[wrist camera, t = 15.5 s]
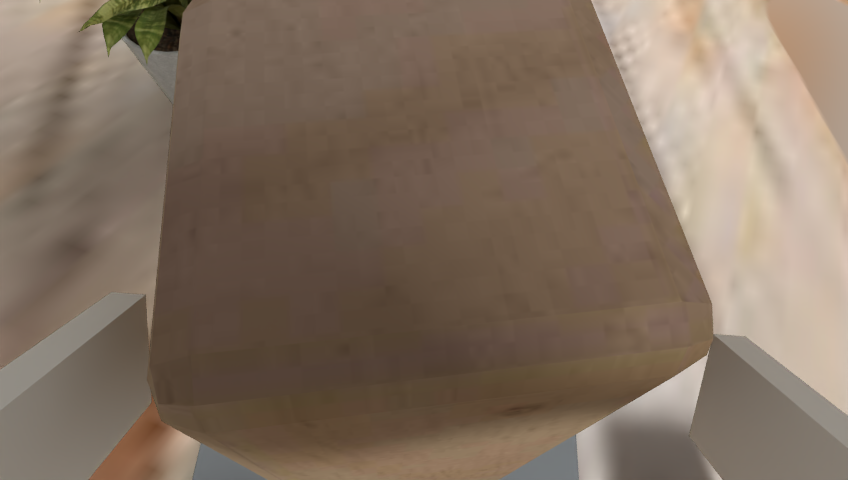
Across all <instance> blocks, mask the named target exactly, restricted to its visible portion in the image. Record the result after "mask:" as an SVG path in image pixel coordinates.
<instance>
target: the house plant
mask: <svg viewBox="0 0 848 480" xmlns="http://www.w3.org/2000/svg"><path fill="white" fill-rule="evenodd" d="M191 1H192V0H110V1H108V2H107V3H105V4H104V5H102V7H101V8H100V9H99V10H98V11H97V12H96V13H95V14H94V15H93V16H92V17H91V18H90V19H89V20H88V21H87V22H86V23H85V24H84V25H83V27H82V28H81V30H80V31H82V30H84V29H85V28H87V27H89V26H90V25H94V24H99V23H102V28H103V33H104V38H105V42H106V46H107V52H108V57H109V53H110V49H111V47H112V46H113V45H115V44H116V43H117V42H118V41H119V40H120V39H121V38H122V39H123V41H124V42H125V43H126V44H127V46H128V47H129V48H130V50H131V51H132V52H133V53H134V55H135V56H136V57H137V59H138V60H139V61H140V62H141V64H142V65H143V66H144V68H145V69H146V70H147V71H148V73H149V74H150V75H151V77H152V78H153V79H154V80H155V82H156V83H157V84H158V86H159V87H160V88H161V90H162V91H163V92H164V93H165V95H166V96H167V97H168V99H169V100H170V101H171V102H172V104H173V101H174V91H175V81H176V70H177V60H178V49H179V39H180V31H181V24H182V16H183V12H184V11H185V9H186V8H187V6H188V5H189V4H190V2H191ZM80 31H79V32H80Z"/></svg>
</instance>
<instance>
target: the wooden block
mask: <svg viewBox="0 0 848 480" xmlns="http://www.w3.org/2000/svg"><path fill="white" fill-rule="evenodd" d="M712 341H713V317H712V303H711V300H710V298H709V295H708V293H707V290H706V288H705V285H704V283H703V280H702V278H701V275H700V273H699V270H698V268H697V265H696V263H695V260H694V258H693V255H692V253H691V250H690V248H689V245H688V243H687V240H686V238H685V235H684V232H683V230H682V227H681V225H680V222H679V220H678V217H677V215H676V212H675V210H674V207H673V205H672V202H671V200H670V197H669V195H668V192H667V190H666V187H665V185H664V182H663V180H662V177H661V175H660V172H659V170H658V167H657V165H656V162H655V160H654V157H653V155H652V152H651V150H650V147H649V145H648V142H647V140H646V137H645V135H644V132H643V130H642V127H641V125H640V122H639V120H638V117H637V115H636V112H635V110H634V107H633V105H632V102H631V100H630V97H629V95H628V92H627V89H626V87H625V84H624V82H623V79H622V77H621V74H620V72H619V69H618V67H617V64H616V62H615V59H614V57H613V54H612V52H611V49H610V47H609V44H608V42H607V39H606V37H605V34H604V32H603V29H602V27H601V24H600V22H599V19H598V17H597V14H596V12H595V9H594V7H593V4H592V2H591V0H192V1H191V2H190V4H189V5H188V6H187V8H186V9H185V11H184V12H183V16H182V24H181V31H180V39H179V49H178V60H177V70H176V81H175V91H174V101H173V112H172V122H171V133H170V143H169V154H168V164H167V174H166V185H165V195H164V206H163V216H162V226H161V237H160V247H159V258H158V268H157V278H156V289H155V299H154V310H153V320H152V330H151V341H150V351H149V362H148V372H147V382H148V385H149V387H150V390H151V393H152V396H153V398H154V401H155V404H156V407H157V410H158V412H159V415H160V418H161V421H162V422H164V423H166V424H168V425H170V426H172V427H173V428H175V429H177V430H179V431H181V432H182V433H184V434H186V435H188V436H190V437H191V438H193V439H195V440H197V441H199V442H200V443H202V444H204V445H206V446H208V447H209V448H211V449H213V450H215V451H217V452H218V453H220V454H222V455H224V456H226V457H227V458H229V459H231V460H233V461H235V462H237V463H238V464H240V465H242V466H244V467H246V468H247V469H249V470H251V471H253V472H255V473H256V474H258V475H260V476H262V477H264V478H265V479H267V480H499V479H501V478H503V477H504V476H506V475H508V474H510V473H511V472H513V471H515V470H516V469H518V468H520V467H521V466H523V465H525V464H526V463H528V462H530V461H532V460H533V459H535V458H537V457H538V456H540V455H542V454H543V453H545V452H547V451H548V450H550V449H552V448H554V447H555V446H557V445H559V444H560V443H562V442H564V441H565V440H567V439H569V438H570V437H572V436H574V435H576V434H577V433H579V432H581V431H582V430H584V429H586V428H587V427H589V426H591V425H592V424H594V423H596V422H598V421H599V420H601V419H603V418H604V417H606V416H608V415H609V414H611V413H613V412H614V411H616V410H618V409H620V408H621V407H623V406H625V405H626V404H628V403H630V402H631V401H633V400H635V399H636V398H638V397H640V396H642V395H643V394H645V393H647V392H648V391H650V390H652V389H653V388H655V387H657V386H658V385H660V384H662V383H664V382H665V381H667V380H669V379H670V378H672V377H674V376H675V375H677V374H678V373H680V372H681V371H683V370H684V369H686V368H688V367H689V366H691V365H692V364H694V363H695V362H697V361H698V360H700V359H701V358H703V357H704V356H706V355H707V353H708V350H709V348H710V346H711V343H712Z"/></svg>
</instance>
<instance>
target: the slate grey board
mask: <svg viewBox="0 0 848 480" xmlns="http://www.w3.org/2000/svg"><path fill="white" fill-rule="evenodd" d="M192 480H267V479H265V478H264V477H262V476H260V475H258V474H256V473H255V472H253V471H251V470H249V469H247V468H246V467H244V466H242V465H240V464H238V463H237V462H235V461H233V460H231V459H229V458H227V457H226V456H224V455H222V454H220V453H218V452H217V451H215V450H213V449H211V448H209V447H208V446H206V445H204V444H202V443H201V445H200V450H199V454H198V458H197V462H196V466H195V471H194V475H193V479H192ZM499 480H579V474H578V459H577V444H576V435H574V436H572V437H570V438H569V439H567V440H565V441H564V442H562V443H560V444H559V445H557V446H555V447H554V448H552V449H550V450H548V451H547V452H545V453H543V454H542V455H540V456H538V457H537V458H535V459H533V460H532V461H530V462H528V463H526V464H525V465H523V466H521V467H520V468H518V469H516V470H515V471H513V472H511V473H510V474H508V475H506V476H504V477H503V478H501V479H499Z"/></svg>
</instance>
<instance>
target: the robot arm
mask: <svg viewBox="0 0 848 480" xmlns="http://www.w3.org/2000/svg"><path fill="white" fill-rule="evenodd" d="M148 362H149V346H148V328H147V309H146V295H144V294H129V293H115V292H111V293H109V294H108V295H107V296H105V297H104V298H102V299H101V300H99V301H98V302H97V303H95V304H94V305H92V306H91V307H89V308H88V309H86V310H85V311H84V312H82V313H81V314H79V315H78V316H76V317H75V318H74V319H72V320H71V321H69V322H68V323H66V324H65V325H64V326H62V327H61V328H59V329H58V330H56V331H55V332H53V333H52V334H51V335H49V336H48V337H46V338H45V339H43V340H42V341H41V342H39V343H38V344H36V345H35V346H33V347H32V348H31V349H29V350H28V351H26V352H25V353H23V354H22V355H21V356H19V357H18V358H16V359H15V360H13V361H12V362H10V363H9V364H8V365H6V366H5V367H3V368H2V369H0V480H88V479H89V478H90V477H91V476H92V475H93V473H94V472H95V471H96V470H97V468H98V467H99V466H100V465H101V464H102V462H103V461H104V460H105V459H106V457H107V456H108V455H109V454H110V453H111V451H112V450H113V449H114V448H115V446H116V445H117V444H118V443H119V442H120V440H121V439H122V438H123V437H124V435H125V434H126V433H127V432H128V431H129V429H130V428H131V427H132V426H133V424H134V423H135V422H136V421H137V419H138V418H139V417H140V416H141V415H142V413H143V412H144V411H145V410H146V408H147V407H148V406H149V405H150V404H151V402H152V401H151V390H150V387H149V385H148V382H147V372H148ZM689 437H690V438H691V439H692V441H693V442H694V443H695V444H696V446H697V447H698V448H699V450H700V451H701V452H702V453H703V455H704V456H705V457H706V459H707V460H708V461H709V463H710V464H711V465H712V466H713V468H714V469H715V470H716V472H717V473H718V474H719V475H720V477H721V478H722V479H723V480H848V416H847V415H846V414H845V413H844V412H842V411H841V410H840V409H838V408H837V407H836V406H835V405H833V404H832V403H831V402H829V401H828V400H827V399H825V398H824V397H823V396H822V395H820V394H819V393H818V392H816V391H815V390H814V389H813V388H811V387H810V386H809V385H807V384H806V383H805V382H804V381H802V380H801V379H800V378H798V377H797V376H796V375H794V374H793V373H792V372H791V371H789V370H788V369H787V368H785V367H784V366H783V365H782V364H780V363H779V362H778V361H776V360H775V359H774V358H772V357H771V356H770V355H769V354H767V353H766V352H765V351H763V350H762V349H761V348H760V347H758V346H757V345H756V344H754V343H753V342H752V341H751V340H749V339H748V338H747V337H745V336H732V335H718V334H713V341H712V343H711V346H710V351H709V355H708V359H707V363H706V367H705V371H704V376H703V380H702V384H701V388H700V392H699V396H698V401H697V405H696V409H695V413H694V417H693V421H692V426H691V430H690V434H689Z"/></svg>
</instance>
